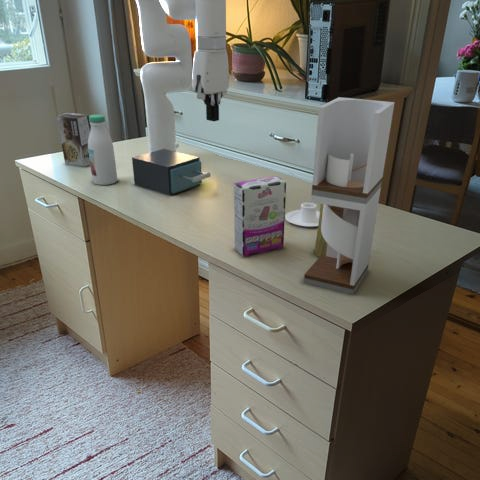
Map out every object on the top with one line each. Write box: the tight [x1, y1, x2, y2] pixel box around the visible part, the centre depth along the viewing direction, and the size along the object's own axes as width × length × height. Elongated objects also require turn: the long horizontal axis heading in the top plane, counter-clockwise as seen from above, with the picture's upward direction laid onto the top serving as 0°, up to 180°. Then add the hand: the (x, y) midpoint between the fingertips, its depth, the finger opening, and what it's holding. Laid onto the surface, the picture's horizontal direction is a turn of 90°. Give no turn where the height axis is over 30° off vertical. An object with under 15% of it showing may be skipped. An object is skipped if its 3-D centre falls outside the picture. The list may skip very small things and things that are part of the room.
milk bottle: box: [88, 114, 118, 186], centre depth 160 cm, size 8×8×20 cm
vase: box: [313, 204, 327, 258], centre depth 118 cm, size 6×6×14 cm
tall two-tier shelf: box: [303, 96, 396, 296], centre depth 102 cm, size 11×11×35 cm
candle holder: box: [285, 202, 320, 227], centre depth 138 cm, size 12×12×4 cm
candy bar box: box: [233, 175, 287, 258], centre depth 119 cm, size 11×5×16 cm, turn 117°
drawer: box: [170, 160, 212, 194], centre depth 158 cm, size 21×12×7 cm, turn 51°
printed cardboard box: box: [56, 112, 91, 167], centre depth 178 cm, size 9×6×16 cm
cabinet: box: [131, 149, 201, 196], centre depth 161 cm, size 16×14×9 cm
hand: (212, 120), depth 141 cm, fingers closed
